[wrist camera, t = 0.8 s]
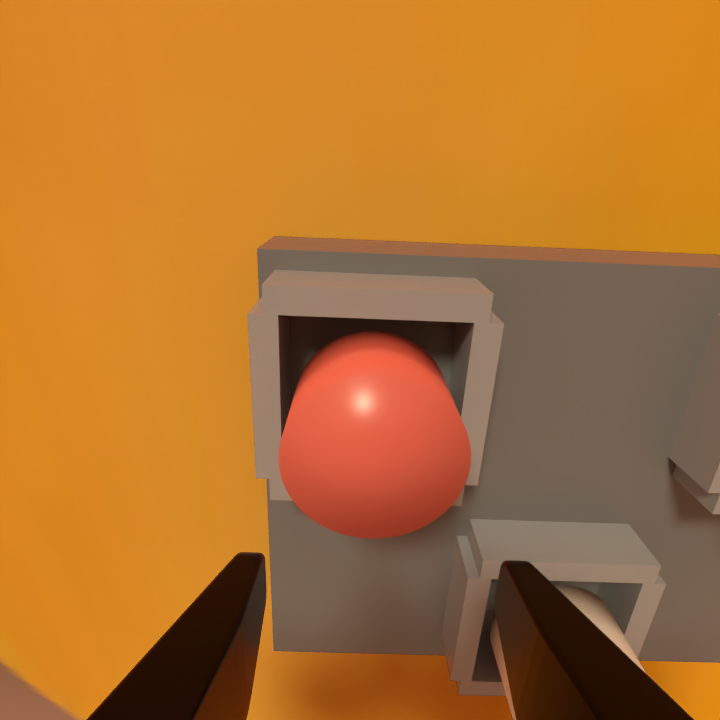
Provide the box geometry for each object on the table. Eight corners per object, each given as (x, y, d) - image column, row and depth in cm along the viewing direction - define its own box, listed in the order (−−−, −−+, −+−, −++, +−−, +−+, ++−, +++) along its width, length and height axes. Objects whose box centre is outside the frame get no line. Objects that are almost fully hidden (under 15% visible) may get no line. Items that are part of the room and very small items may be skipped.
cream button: (625, 586, 16) (681, 673, 13) (595, 672, 18) (640, 765, 15) (499, 583, 16) (530, 670, 13) (481, 669, 18) (505, 762, 15)
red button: (456, 334, 13) (483, 379, 10) (439, 469, 14) (458, 541, 11) (294, 327, 12) (276, 371, 10) (296, 464, 14) (280, 536, 11)
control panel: (857, 260, 17) (1051, 293, 12) (706, 604, 23) (794, 713, 18) (274, 236, 16) (240, 260, 12) (284, 592, 22) (265, 700, 18)
